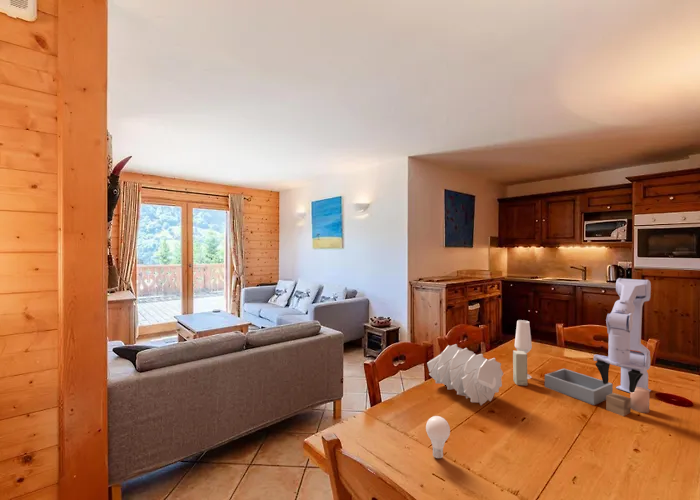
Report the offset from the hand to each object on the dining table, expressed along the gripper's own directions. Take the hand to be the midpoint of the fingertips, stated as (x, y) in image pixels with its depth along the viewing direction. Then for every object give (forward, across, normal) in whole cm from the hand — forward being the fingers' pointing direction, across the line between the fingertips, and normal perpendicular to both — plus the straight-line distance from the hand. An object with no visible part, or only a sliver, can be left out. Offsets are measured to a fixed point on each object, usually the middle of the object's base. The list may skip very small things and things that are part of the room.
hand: (618, 387), depth 114 cm
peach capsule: (+8, +3, +8) cm, 12 cm away
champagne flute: (+8, -35, 0) cm, 36 cm away
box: (+8, -31, -8) cm, 33 cm away
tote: (+8, -15, +4) cm, 18 cm away
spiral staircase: (+9, -35, -36) cm, 51 cm away
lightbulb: (+9, -12, -72) cm, 73 cm away
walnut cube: (+8, 0, 0) cm, 8 cm away
